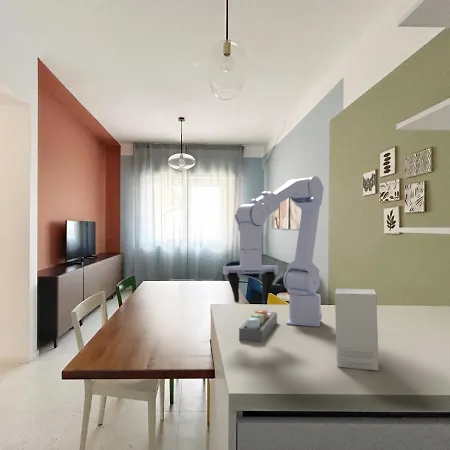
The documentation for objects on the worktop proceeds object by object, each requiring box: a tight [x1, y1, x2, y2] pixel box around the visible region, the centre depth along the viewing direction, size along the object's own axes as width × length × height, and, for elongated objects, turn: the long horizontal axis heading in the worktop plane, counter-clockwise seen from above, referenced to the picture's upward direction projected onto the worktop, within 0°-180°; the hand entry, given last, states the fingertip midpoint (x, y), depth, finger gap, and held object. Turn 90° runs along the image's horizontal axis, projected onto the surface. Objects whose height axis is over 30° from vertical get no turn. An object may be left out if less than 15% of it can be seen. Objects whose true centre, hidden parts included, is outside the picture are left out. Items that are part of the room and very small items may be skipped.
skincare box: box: [334, 287, 380, 372], centre depth 75 cm, size 8×7×16 cm
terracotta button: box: [254, 309, 269, 321], centre depth 102 cm, size 4×4×3 cm
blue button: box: [245, 317, 260, 330], centre depth 93 cm, size 4×4×3 cm
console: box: [238, 311, 278, 343], centre depth 100 cm, size 6×20×3 cm, turn 161°
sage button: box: [250, 312, 264, 325], centre depth 97 cm, size 4×4×3 cm
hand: (250, 301), depth 94 cm, fingers open, 7 cm apart
